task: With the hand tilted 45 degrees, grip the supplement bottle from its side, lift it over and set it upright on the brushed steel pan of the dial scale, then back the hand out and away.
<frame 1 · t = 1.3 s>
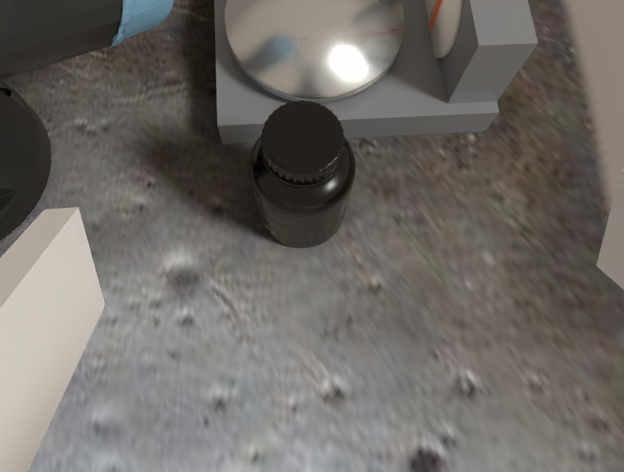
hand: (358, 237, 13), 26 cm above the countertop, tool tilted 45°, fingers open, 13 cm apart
supplement bottle: (300, 209, 40), on the countertop
scale: (346, 55, 45), on the countertop
scale pan: (314, 22, 40), point 4 cm above the countertop, slide at 0.7 cm
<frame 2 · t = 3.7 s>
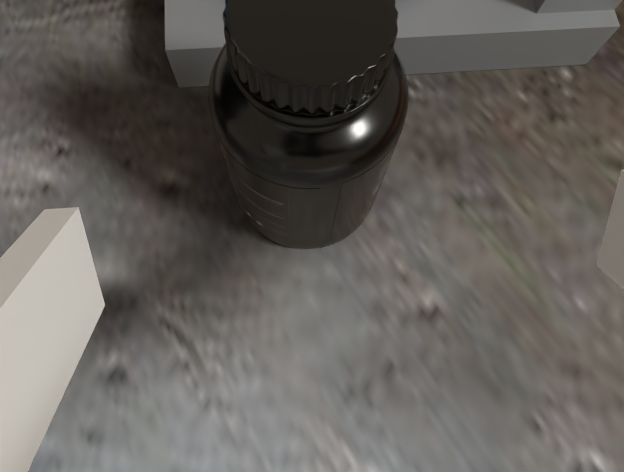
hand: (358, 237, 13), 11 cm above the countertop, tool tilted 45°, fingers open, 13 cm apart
supplement bottle: (304, 188, 25), on the countertop
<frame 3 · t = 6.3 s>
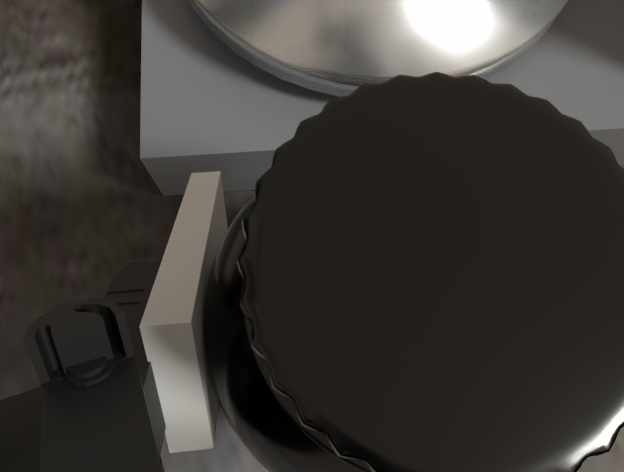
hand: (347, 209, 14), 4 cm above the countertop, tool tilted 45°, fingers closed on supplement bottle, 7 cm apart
supplement bottle: (346, 352, 17), on the countertop, touching gripper
scale: (429, 1, 21), on the countertop
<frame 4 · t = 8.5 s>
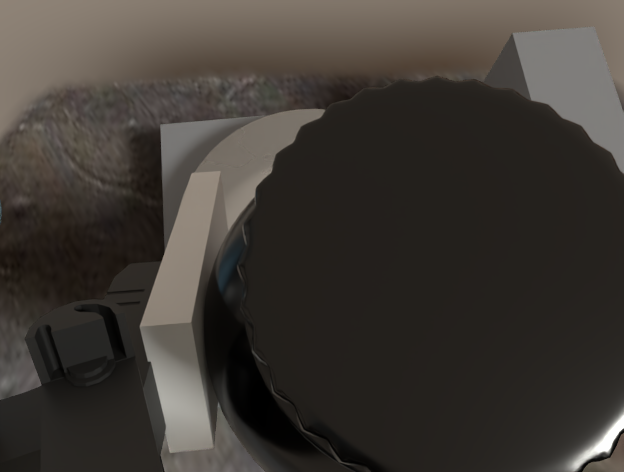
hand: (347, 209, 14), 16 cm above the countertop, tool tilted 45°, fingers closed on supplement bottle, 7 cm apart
supplement bottle: (347, 354, 17), point 12 cm above the countertop, touching gripper
scale: (360, 250, 31), on the countertop
scale pan: (313, 233, 26), point 4 cm above the countertop, slide at 0.7 cm
when the fingers open (11 cm above the countertop, at t = 10.7 s): supplement bottle drops 2 cm, resting on scale pan.
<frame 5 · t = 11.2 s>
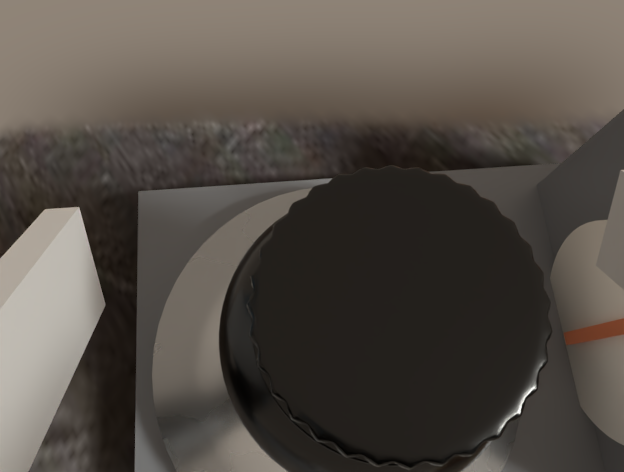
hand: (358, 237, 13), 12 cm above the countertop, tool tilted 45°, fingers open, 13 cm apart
supplement bottle: (339, 359, 19), point 4 cm above the countertop, touching scale pan
scale: (395, 358, 24), on the countertop
scale pan: (338, 358, 20), point 4 cm above the countertop, slide at 1.2 cm, touching supplement bottle
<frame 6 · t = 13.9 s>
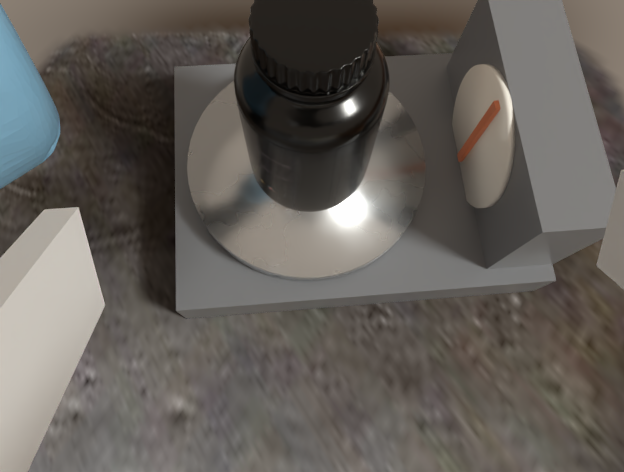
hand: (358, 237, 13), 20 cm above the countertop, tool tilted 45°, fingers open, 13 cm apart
supplement bottle: (307, 162, 30), point 4 cm above the countertop, touching scale pan
scale: (349, 187, 34), on the countertop
scale pan: (307, 164, 30), point 4 cm above the countertop, slide at 1.2 cm, touching supplement bottle
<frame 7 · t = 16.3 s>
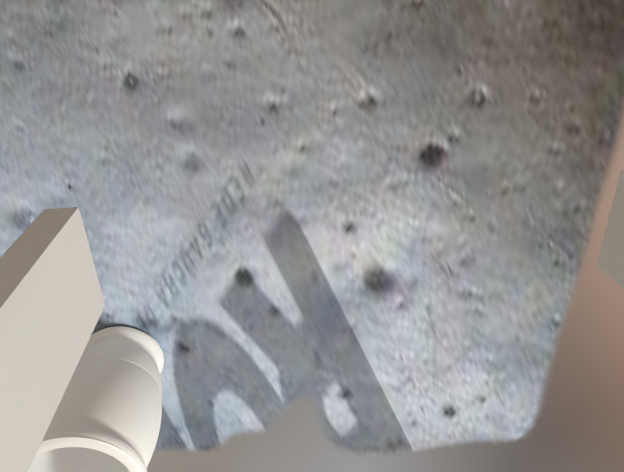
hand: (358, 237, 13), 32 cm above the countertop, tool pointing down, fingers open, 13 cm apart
jar: (123, 356, 53), on the countertop
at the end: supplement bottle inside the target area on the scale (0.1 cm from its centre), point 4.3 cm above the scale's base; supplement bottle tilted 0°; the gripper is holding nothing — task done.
